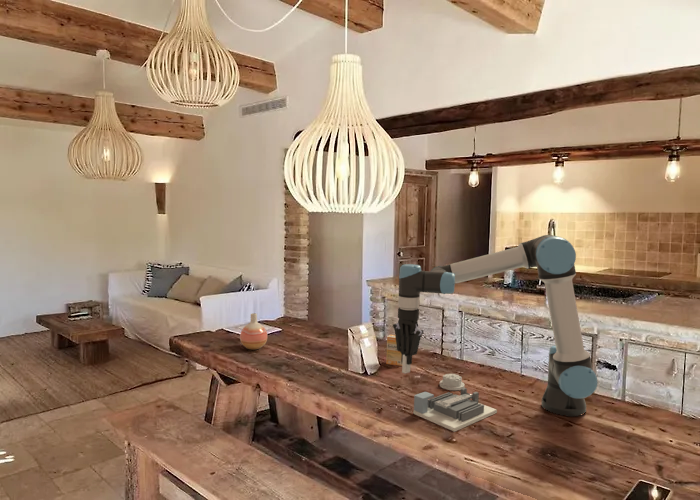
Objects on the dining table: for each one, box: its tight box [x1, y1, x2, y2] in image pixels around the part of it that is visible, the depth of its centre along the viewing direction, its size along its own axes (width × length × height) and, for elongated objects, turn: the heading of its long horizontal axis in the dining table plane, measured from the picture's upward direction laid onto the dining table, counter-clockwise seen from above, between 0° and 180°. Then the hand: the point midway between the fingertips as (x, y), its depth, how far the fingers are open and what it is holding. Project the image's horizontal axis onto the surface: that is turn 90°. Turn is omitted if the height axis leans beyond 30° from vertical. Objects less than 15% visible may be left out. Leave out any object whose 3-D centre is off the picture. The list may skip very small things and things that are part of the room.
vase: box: [239, 312, 268, 351], centre depth 255 cm, size 14×14×18 cm
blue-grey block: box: [413, 391, 435, 414], centre depth 179 cm, size 4×6×5 cm
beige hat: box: [439, 373, 466, 391], centre depth 206 cm, size 10×4×10 cm
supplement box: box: [385, 334, 402, 367], centre depth 233 cm, size 8×5×13 cm, turn 68°
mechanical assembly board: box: [413, 387, 498, 433], centre depth 179 cm, size 18×24×6 cm
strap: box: [435, 392, 473, 409], centre depth 179 cm, size 5×17×1 cm, turn 130°
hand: (406, 372), depth 182 cm, fingers closed
